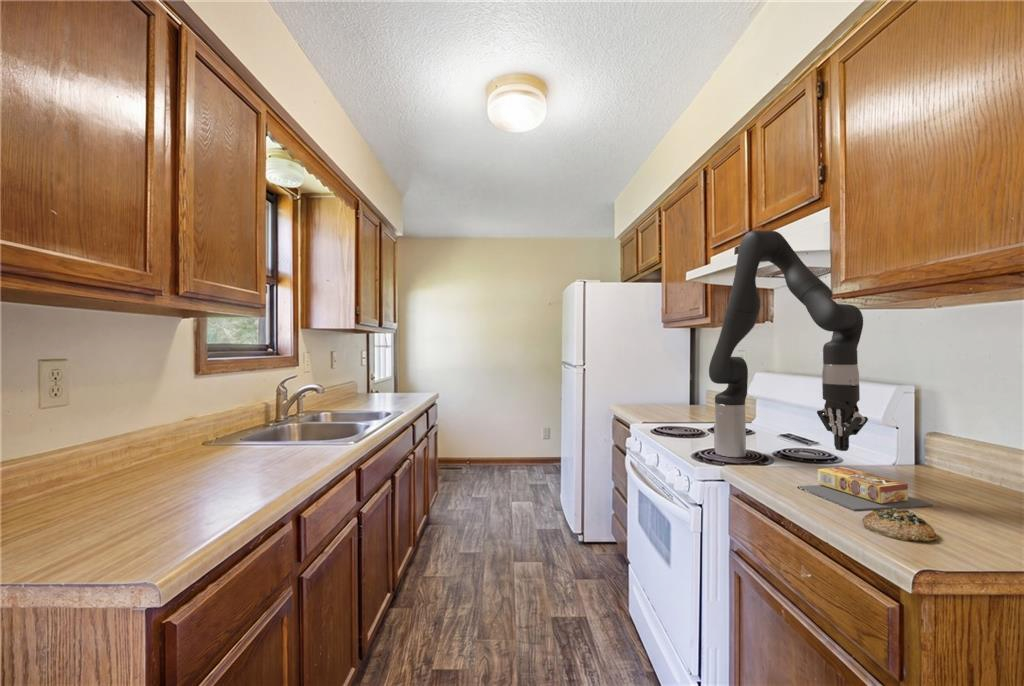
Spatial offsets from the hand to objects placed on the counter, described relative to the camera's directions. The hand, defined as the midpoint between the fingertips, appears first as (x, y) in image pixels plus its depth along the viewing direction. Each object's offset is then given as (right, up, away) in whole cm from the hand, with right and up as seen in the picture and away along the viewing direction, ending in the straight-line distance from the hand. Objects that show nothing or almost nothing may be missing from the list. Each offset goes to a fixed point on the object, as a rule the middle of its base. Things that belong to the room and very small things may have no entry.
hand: (841, 450), depth 110 cm
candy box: (0, -8, +4) cm, 9 cm away
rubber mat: (+1, -10, -5) cm, 11 cm away
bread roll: (-8, -10, -25) cm, 28 cm away
